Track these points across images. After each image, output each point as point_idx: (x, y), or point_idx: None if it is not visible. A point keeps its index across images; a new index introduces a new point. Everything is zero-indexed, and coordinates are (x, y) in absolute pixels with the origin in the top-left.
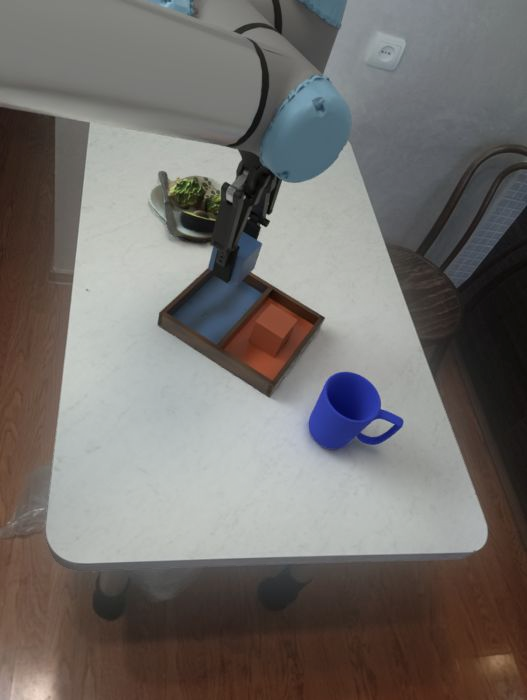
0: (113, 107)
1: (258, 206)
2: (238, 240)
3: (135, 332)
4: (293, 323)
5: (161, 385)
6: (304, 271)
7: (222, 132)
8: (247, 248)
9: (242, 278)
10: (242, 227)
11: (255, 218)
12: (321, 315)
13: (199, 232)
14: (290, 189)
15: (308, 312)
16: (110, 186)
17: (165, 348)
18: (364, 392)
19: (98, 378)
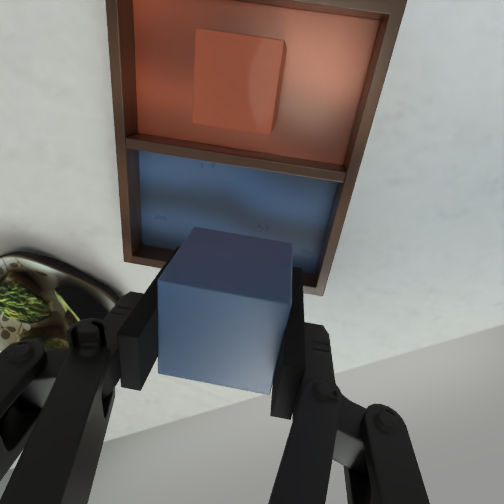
0: None
1: (84, 456)
2: (305, 411)
3: (351, 297)
4: (216, 34)
5: (442, 223)
6: (4, 91)
7: None
8: (222, 313)
9: (263, 243)
10: (301, 490)
11: (107, 376)
12: None
13: (105, 307)
14: None
15: (120, 19)
16: (124, 414)
17: (361, 248)
18: None
19: (460, 303)
